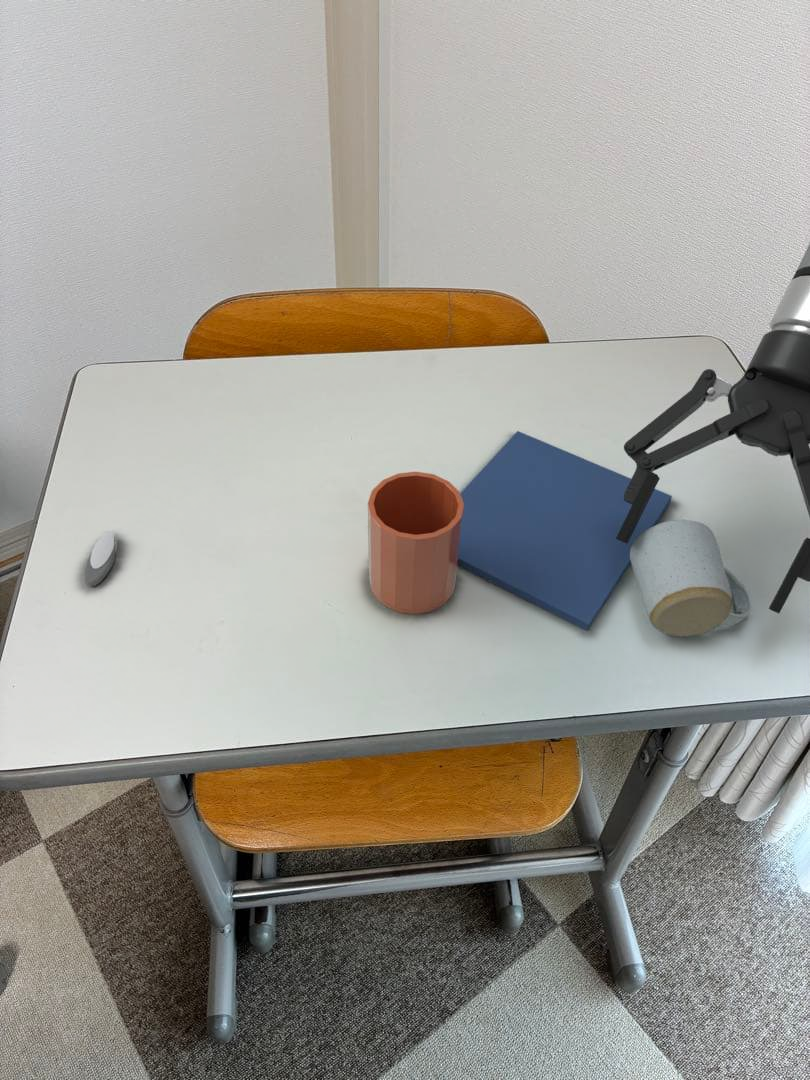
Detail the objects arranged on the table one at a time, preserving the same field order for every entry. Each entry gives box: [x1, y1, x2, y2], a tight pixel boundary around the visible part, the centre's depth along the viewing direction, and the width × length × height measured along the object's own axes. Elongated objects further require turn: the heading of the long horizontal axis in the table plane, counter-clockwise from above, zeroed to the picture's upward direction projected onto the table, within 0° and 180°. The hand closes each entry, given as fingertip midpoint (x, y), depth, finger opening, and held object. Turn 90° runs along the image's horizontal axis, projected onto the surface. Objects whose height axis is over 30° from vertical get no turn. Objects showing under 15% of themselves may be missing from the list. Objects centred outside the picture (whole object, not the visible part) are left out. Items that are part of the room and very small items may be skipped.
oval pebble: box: [84, 530, 118, 587], centre depth 75 cm, size 6×2×1 cm, turn 174°
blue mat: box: [458, 430, 673, 631], centre depth 79 cm, size 18×20×1 cm
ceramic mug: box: [630, 519, 752, 637], centre depth 70 cm, size 11×8×8 cm
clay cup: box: [367, 471, 464, 615], centre depth 71 cm, size 8×8×10 cm
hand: (694, 575), depth 69 cm, fingers open, 13 cm apart
